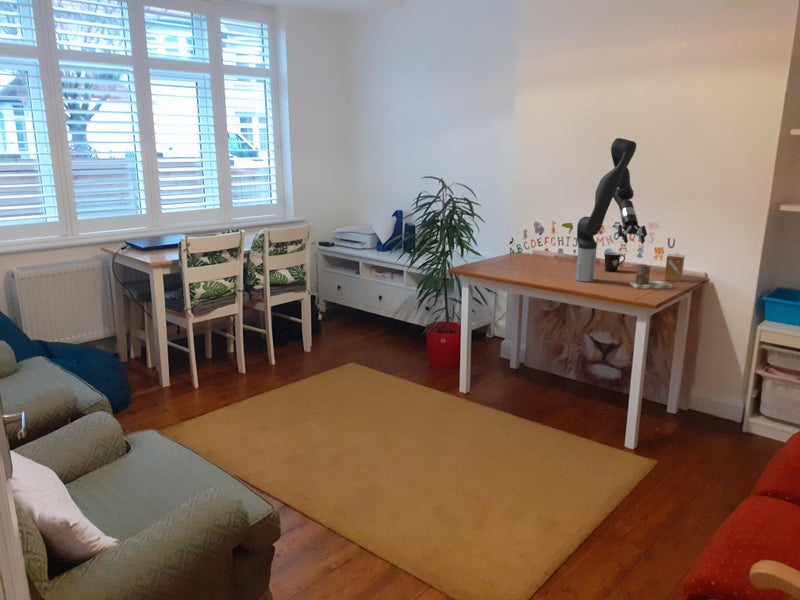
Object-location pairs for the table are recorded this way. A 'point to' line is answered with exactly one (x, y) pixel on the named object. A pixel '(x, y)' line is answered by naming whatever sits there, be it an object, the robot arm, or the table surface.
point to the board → (650, 285)
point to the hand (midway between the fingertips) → (634, 242)
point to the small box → (674, 267)
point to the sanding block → (643, 274)
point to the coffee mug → (612, 261)
